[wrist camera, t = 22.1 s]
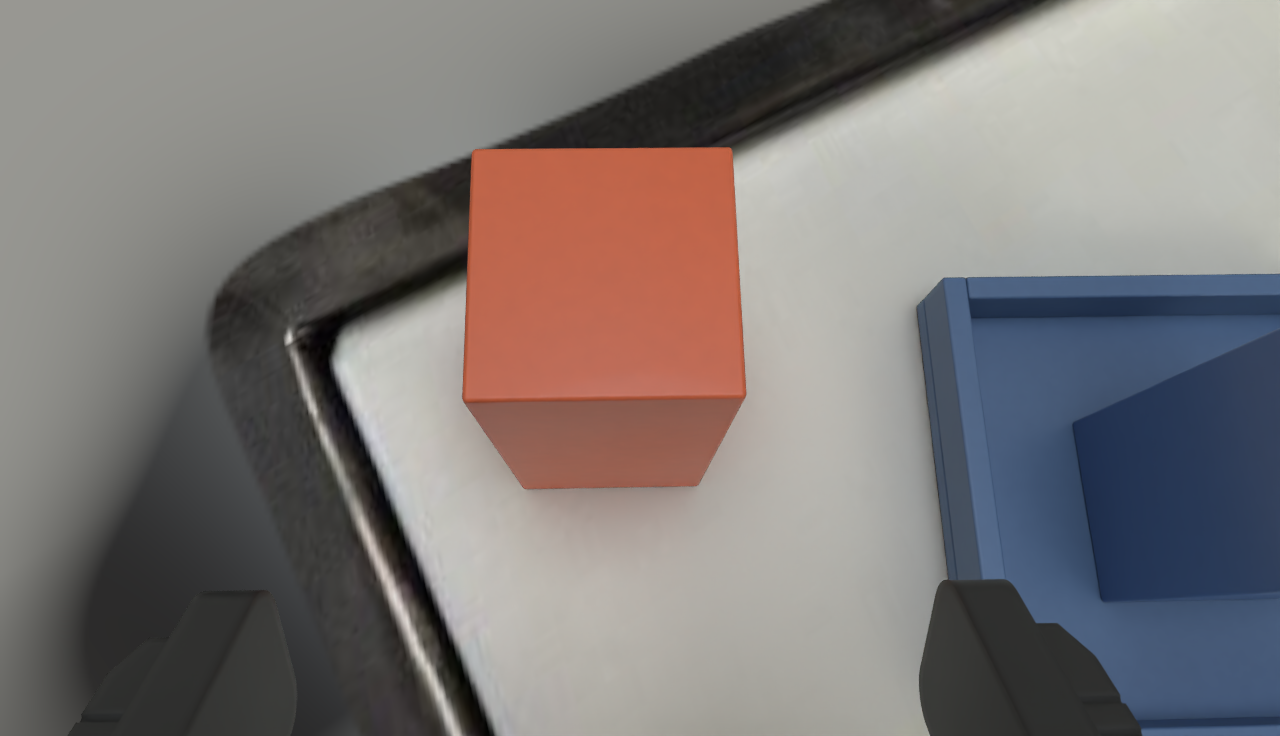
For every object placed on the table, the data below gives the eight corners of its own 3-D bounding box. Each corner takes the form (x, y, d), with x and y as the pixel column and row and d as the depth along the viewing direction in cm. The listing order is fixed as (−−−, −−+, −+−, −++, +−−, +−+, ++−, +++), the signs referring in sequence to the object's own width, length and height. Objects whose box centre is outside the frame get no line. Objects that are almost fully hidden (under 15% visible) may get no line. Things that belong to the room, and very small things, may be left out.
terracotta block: (522, 489, 22) (461, 402, 14) (525, 323, 24) (470, 147, 15) (698, 486, 22) (747, 397, 14) (692, 321, 24) (733, 145, 15)
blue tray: (967, 748, 21) (1004, 761, 19) (915, 305, 24) (942, 276, 22) (1427, 736, 21) (1513, 748, 19) (1316, 301, 24) (1379, 271, 22)
